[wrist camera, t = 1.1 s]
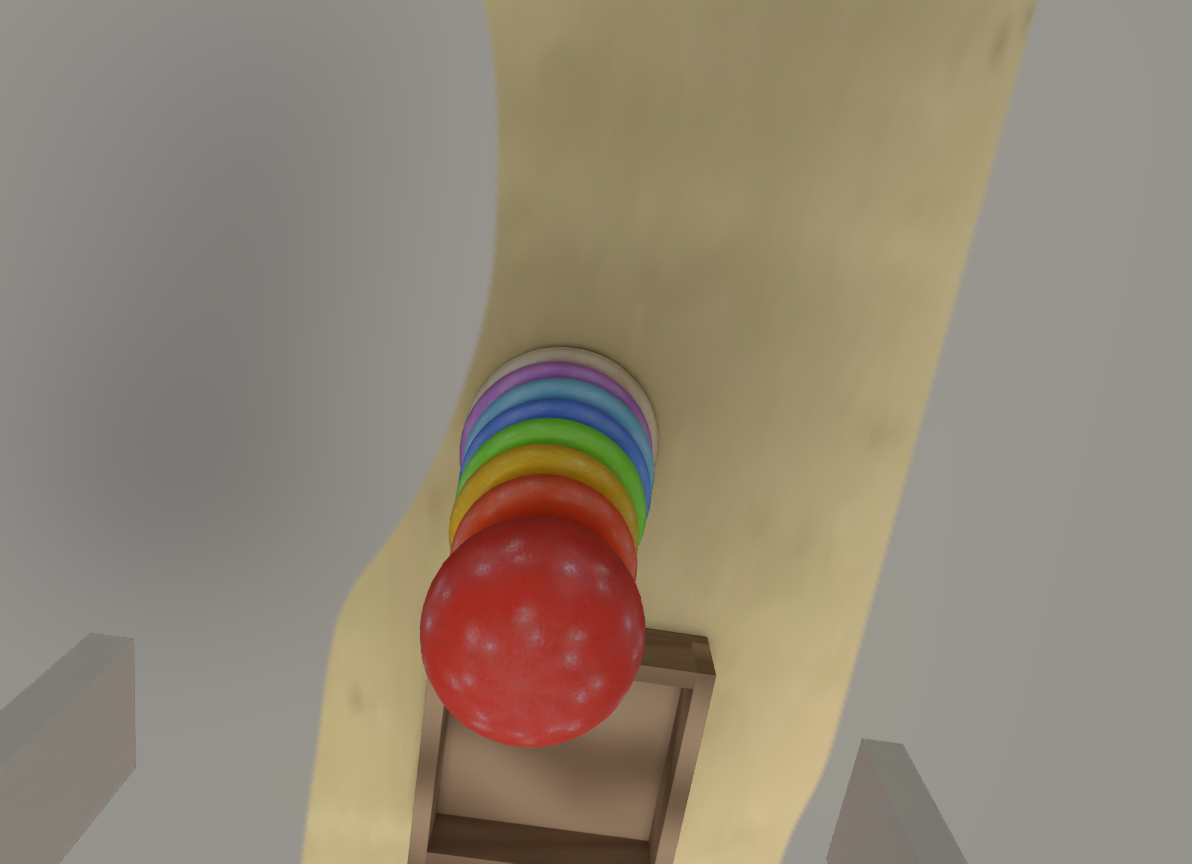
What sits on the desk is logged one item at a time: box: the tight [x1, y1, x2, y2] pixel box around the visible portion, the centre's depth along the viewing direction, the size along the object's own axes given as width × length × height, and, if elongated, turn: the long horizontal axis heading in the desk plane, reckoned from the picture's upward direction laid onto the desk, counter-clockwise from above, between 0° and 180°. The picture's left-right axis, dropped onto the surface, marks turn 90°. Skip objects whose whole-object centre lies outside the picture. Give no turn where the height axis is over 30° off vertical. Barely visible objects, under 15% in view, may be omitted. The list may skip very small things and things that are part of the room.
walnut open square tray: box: [408, 629, 716, 864], centre depth 37 cm, size 12×12×3 cm
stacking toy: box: [420, 347, 659, 748], centre depth 25 cm, size 8×8×19 cm
